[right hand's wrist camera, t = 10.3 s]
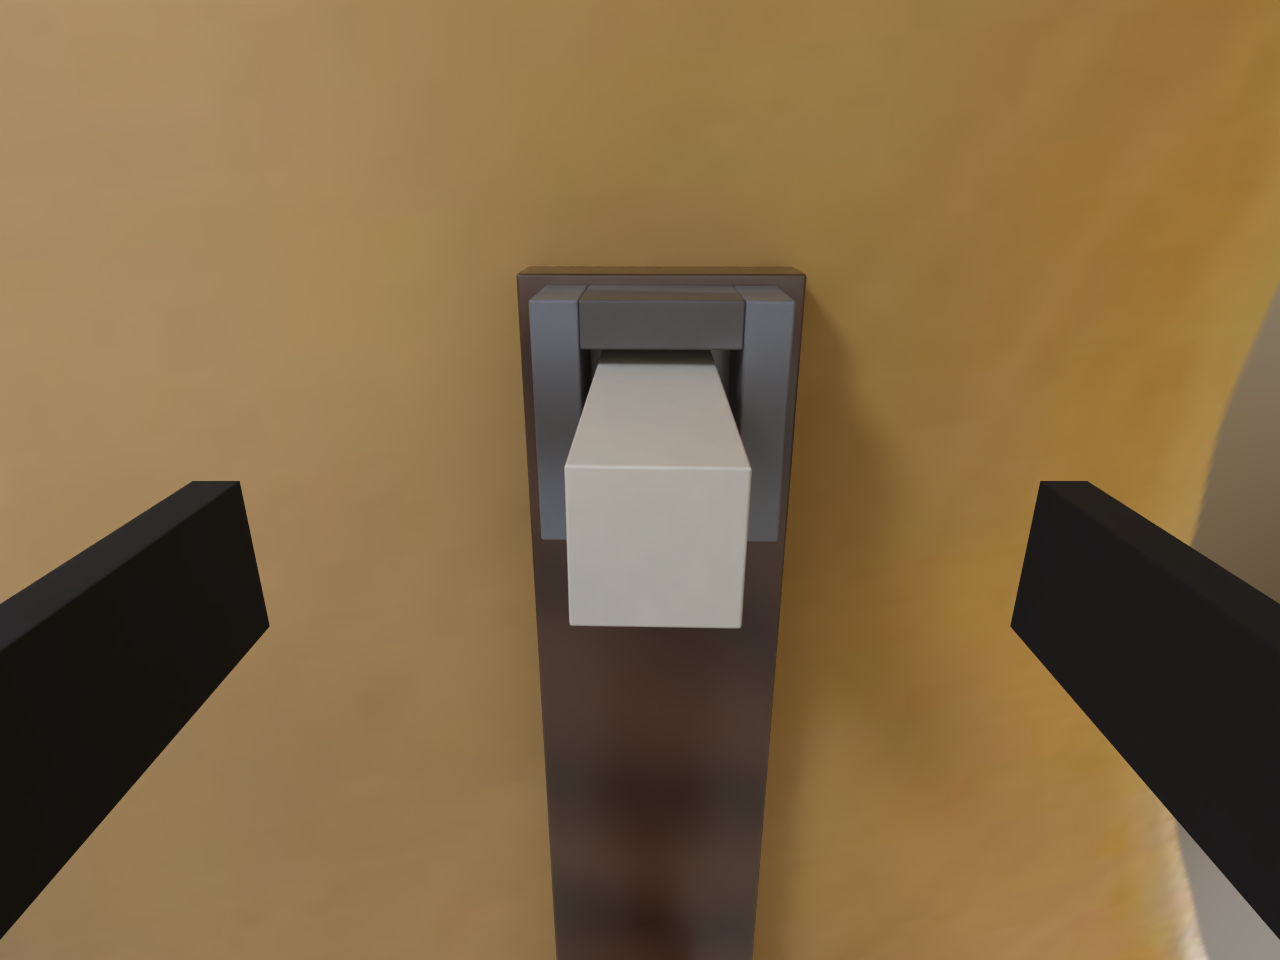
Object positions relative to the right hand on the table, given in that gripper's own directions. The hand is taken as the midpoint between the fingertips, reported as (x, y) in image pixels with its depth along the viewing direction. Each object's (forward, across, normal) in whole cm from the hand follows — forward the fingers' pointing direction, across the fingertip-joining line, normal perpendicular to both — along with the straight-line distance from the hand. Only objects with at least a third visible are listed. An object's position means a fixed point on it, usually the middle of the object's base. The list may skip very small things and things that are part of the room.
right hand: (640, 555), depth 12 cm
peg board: (+12, -1, +15) cm, 20 cm away
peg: (+10, 0, 0) cm, 10 cm away
